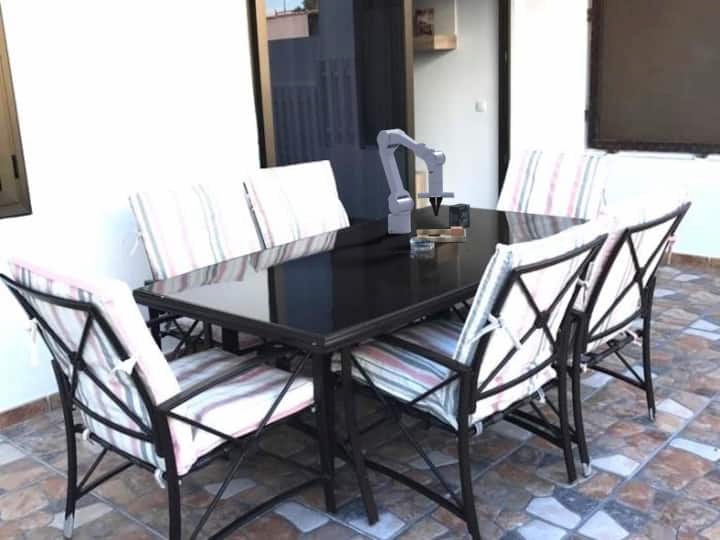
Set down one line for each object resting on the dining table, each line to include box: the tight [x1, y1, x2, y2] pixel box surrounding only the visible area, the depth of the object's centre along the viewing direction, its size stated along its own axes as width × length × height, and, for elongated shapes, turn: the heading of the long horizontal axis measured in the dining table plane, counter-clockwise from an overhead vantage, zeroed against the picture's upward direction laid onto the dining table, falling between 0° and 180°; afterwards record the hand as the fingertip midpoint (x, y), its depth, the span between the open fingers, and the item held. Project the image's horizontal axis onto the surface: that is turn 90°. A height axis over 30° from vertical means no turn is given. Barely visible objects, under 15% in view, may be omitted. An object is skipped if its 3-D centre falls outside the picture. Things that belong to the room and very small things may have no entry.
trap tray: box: [413, 228, 467, 243], centre depth 295 cm, size 20×16×3 cm
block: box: [450, 226, 463, 237], centre depth 294 cm, size 4×4×4 cm
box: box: [448, 203, 471, 229], centre depth 315 cm, size 8×6×11 cm
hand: (436, 215), depth 295 cm, fingers closed
